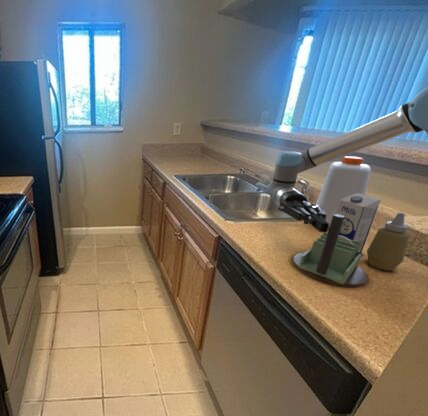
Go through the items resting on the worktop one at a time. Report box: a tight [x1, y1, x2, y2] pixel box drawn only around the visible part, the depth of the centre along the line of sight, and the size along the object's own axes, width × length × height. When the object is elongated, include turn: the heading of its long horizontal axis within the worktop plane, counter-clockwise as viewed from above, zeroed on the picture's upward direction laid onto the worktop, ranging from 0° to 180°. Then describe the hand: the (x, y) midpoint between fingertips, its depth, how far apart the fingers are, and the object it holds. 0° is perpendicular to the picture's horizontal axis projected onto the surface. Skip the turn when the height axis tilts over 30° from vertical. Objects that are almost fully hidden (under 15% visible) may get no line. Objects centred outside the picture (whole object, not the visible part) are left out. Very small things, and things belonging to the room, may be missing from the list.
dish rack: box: [298, 214, 363, 284], centre depth 81 cm, size 17×11×19 cm, turn 128°
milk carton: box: [337, 193, 382, 256], centre depth 92 cm, size 7×7×20 cm
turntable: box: [292, 251, 368, 288], centre depth 85 cm, size 18×18×1 cm
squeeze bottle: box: [366, 211, 410, 271], centre depth 83 cm, size 8×8×18 cm
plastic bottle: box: [314, 155, 372, 228], centre depth 111 cm, size 15×15×28 cm
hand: (324, 227), depth 77 cm, fingers closed
